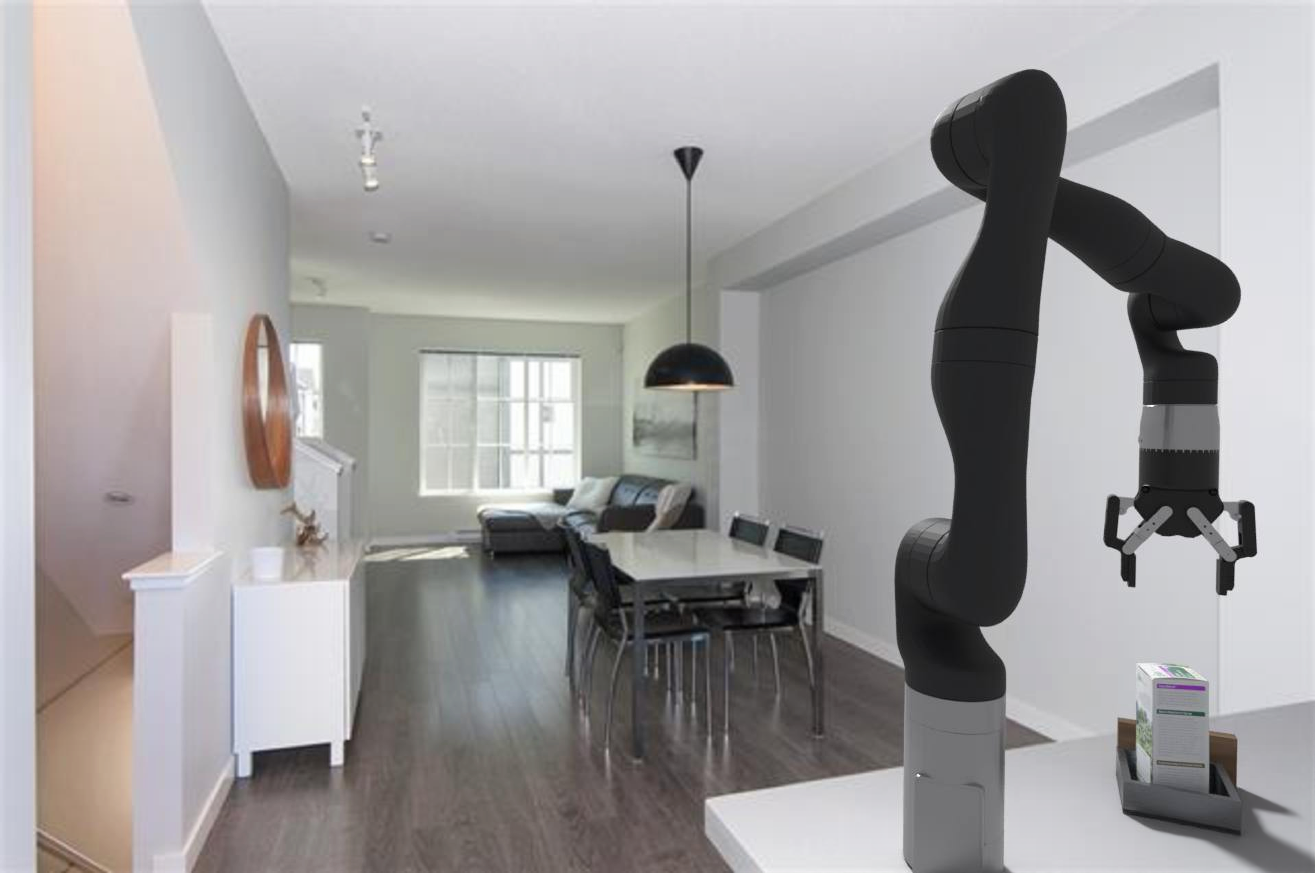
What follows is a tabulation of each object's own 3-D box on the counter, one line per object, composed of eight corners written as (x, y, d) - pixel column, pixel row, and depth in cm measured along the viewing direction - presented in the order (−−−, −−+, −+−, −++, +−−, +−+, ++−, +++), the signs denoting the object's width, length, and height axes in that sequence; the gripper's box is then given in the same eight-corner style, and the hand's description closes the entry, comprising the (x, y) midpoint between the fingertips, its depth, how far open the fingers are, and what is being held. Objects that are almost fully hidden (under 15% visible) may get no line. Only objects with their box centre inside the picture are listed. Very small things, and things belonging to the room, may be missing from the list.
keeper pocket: (1240, 835, 82) (1241, 802, 82) (1122, 812, 87) (1123, 781, 87) (1221, 792, 92) (1221, 762, 92) (1115, 774, 97) (1116, 745, 97)
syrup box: (1211, 813, 86) (1213, 680, 86) (1150, 806, 88) (1152, 675, 87) (1189, 789, 92) (1191, 664, 91) (1132, 783, 93) (1134, 660, 93)
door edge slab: (1236, 790, 93) (1237, 739, 92) (1117, 769, 98) (1118, 721, 98) (1233, 784, 94) (1234, 734, 94) (1116, 764, 99) (1117, 717, 99)
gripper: (1107, 445, 89) (1104, 590, 89) (1265, 448, 82) (1261, 604, 83) (1103, 443, 95) (1101, 578, 96) (1249, 446, 89) (1245, 590, 89)
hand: (1175, 590), depth 89 cm, fingers open, 8 cm apart
